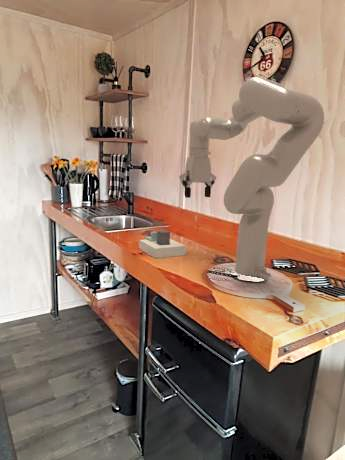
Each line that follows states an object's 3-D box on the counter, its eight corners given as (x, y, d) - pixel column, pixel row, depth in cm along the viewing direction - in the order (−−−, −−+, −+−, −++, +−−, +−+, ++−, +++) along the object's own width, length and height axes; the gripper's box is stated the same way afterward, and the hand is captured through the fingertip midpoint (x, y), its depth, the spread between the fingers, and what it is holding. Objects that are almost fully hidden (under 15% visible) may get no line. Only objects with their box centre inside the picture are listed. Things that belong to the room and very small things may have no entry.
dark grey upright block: (169, 250, 136) (170, 232, 134) (161, 251, 134) (161, 232, 132) (164, 248, 139) (165, 230, 138) (156, 249, 137) (157, 230, 136)
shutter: (165, 240, 141) (165, 232, 141) (151, 241, 138) (151, 233, 137) (158, 236, 147) (158, 229, 147) (144, 237, 144) (144, 230, 143)
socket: (185, 255, 134) (185, 245, 133) (155, 258, 127) (155, 248, 127) (167, 246, 148) (167, 237, 147) (139, 248, 141) (139, 240, 140)
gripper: (210, 155, 134) (209, 196, 137) (175, 153, 126) (174, 197, 128) (222, 154, 128) (220, 197, 131) (185, 151, 119) (184, 198, 122)
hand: (197, 197), depth 129 cm, fingers open, 9 cm apart
